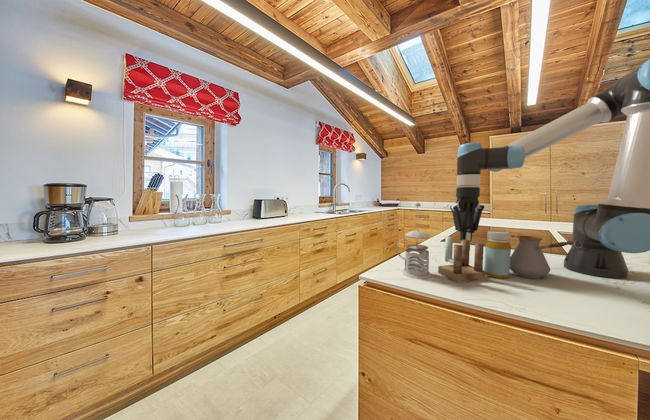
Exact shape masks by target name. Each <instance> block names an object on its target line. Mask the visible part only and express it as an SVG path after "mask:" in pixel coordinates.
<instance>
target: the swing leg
mask: <svg viewBox="0 0 650 420" xmlns="http://www.w3.org/2000/svg"><path fill="white" fill-rule="evenodd" d="M453 240H454V237H453V236H445V242H444V243H445V244H444V245H445V247H444V248H445V249H444V261H445V262H446V263H449V264H451V265H453V263H454V258H453V250H454V245H453V244H454V241H453Z"/></svg>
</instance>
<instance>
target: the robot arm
mask: <svg viewBox="0 0 650 420" xmlns="http://www.w3.org/2000/svg"><path fill="white" fill-rule="evenodd" d="M624 115H625V116H626V119H625V121H626V122H625V125H624V129H623V132H622V133H623V134H622V136H621V137H622V138H621V142H620V146H619V149H618V153H617V158H616V163H615V167H614V171H613V174H612V179H611V182H610V187H609V190H608V195H607V198H606V199H603V200H602V201H600V202H598V204H581V205H577V206H575V208H574V213H573V214H572V215H573V221H572V224H573V225H572V238H571V241H575V240H576V241H579V242H581V243H582V247H581V243H579V242H578V243H576V244H575V246H576V247H575V246H574V244H572V245H571V247H570V248H569V250H568V252H567V254H566V256H565V257H564V259H563V267H564V268H565V269H568V270H570V271H573V272H576V273H580V274H583V275H589V276H595V277H601V278H614V279H621V278H623V279H624V278H627V277H628V276H629V268H628V266H627V263H626V261H625V260H626V259H625V257H624V255H623V253H625V254H642V253H647V252H649V251H650V58H649V59H647V60H646V61H644V62H643V63H642V64H641V65H639V66H638V67H637V68H635V69H633V70H632V71H629V72H628V73H626V74H625V75H624V76H622V77H620V78H619V79H618V80H616V81H615V82H614V83H612V84H611V85H609V87H608V86H607V87H606V88H605V89H604V90H602V91H600V92H599V93H597V94H595V95H593V96H592V97H590V98H588V100H587V101H586V103H584V104H583V105H580V106H579V107H577V108H575V109H573V110H571V111H569V112H567V113H566V114H563V115H562V116H560V117H558V118H556V119H554V120H552V121H550V122H548V123H547V124H544V125H543V126H540V127H539V128H537V129H535V130H533V131H531V132H529V133H527V134H526V135H524V136H522V137H520V138H518V139H516V140H514V141H512V142H510V143H508V144H506V145H504V146H500V147H487V148H486V147H483V144H482V143H481V142H467V143H462V144H460V145H459V146H458V148H457V162H456V186H457V187H456V190H455V193H456V195H455V196H456V201H455V204H453V205H450V207H449V209H450V211H451V212H452V217H453V222H454V230H455V231H457V232H459V233H460V235H459V237H460V239H459V240H460V241H461V244H460V245H462V240H470V242H472V240H473V234H475V232H477V231H478V229H479V225H480V221H481V216H482V213H483V211H484V209H485V207H486V206H485V205H484V204H481V203H480V201H479V198H480V196H481V195H480V194H481V187H479V186H480V185H481V177H482V176H481V175H482V174H481V173H482V172H481V171H483V170H484V171H485V170H488V171H490V172H495V173H497V172H501V171H502V170H513V169H520V168H522V167H523V166H524V163H525V159H526V158H528V157H530V156H532V155H535V154H537V153H539V152H541V151H543V150H545V149H547V148H549V147H552V146H553V145H555V144H558V143H559V142H562V141H563V140H566V139H567V138H570V137H572V136H574V135H576V134H579V133H580V132H583V131H584V130H587V129H589V128H590V127H592V126H595V125H597V124H599V123H608V122H610V121H612V120H614V119H617V118H619V117H621V116H624ZM577 247H581V248H577Z"/></svg>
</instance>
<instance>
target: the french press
mask: <svg viewBox="0 0 650 420" xmlns="http://www.w3.org/2000/svg"><path fill="white" fill-rule="evenodd" d="M414 207H416V208H417V209H416V230H411V231H408V232H407V233H405V234H404V236H405V237H406V238H405V237H403V238H401V239H400V240H398V242H397V244H396V245H397V246H396V250H397V251H396V254H397V255H398V257H399V258H401V259H403V260H404V269H403V270H402V271H401V273H403V274H402V275H404V276H405V277H408V278H411V279H416V280H424V279H429V278H432V274H431V272H430V271H429V268H430V267H429V266H430V265H429V263H430V262H429V260H430V252H429V250H428V248H429V247H428V246H427V245H425V244H418V243H414V244H413V243H411V244H406V246H405V247H406V249H405V254H404V256H405V257H404V256H402V255H401V254H400V252H399V244H400V243H401V242H402V241H405V242H404V243H407V238H409V239H416V240H418V239H419V240H422V239H424V240H426V239H429V238H430V237H431V235H430V234H428V232H425V231H422V230H418V227H419V222H418V220H419V219H418V217H419V207H421V203H420V202H416V203H414ZM416 252H417V253H416Z"/></svg>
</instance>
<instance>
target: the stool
mask: <svg viewBox="0 0 650 420" xmlns="http://www.w3.org/2000/svg"><path fill="white" fill-rule="evenodd" d="M461 242H462V245H461V244H454V245H453V259H454V263H453V264H445V265H438V267H437V269H438V271H437V273H438V274H440V275H442V276H444V277H445V278H447V279H448V280H451V281H452V282H454V283H465V282H475V281H481V280H482V281H484V280H487V275H486V272H485V271H484V268H483V267H484V250H485V245H484V243H481V242H480V243H479V242H476V243H474V260H473V261H474V262H473V264H474V265H470V253H471V252H470V251H471V241H470V240H462V241H461Z"/></svg>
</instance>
